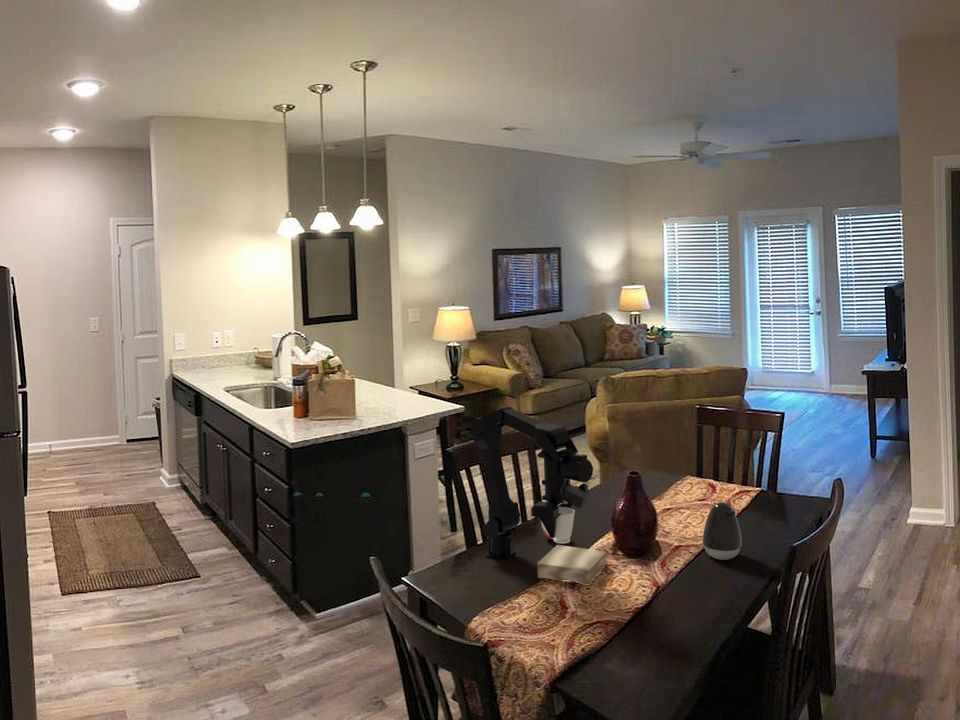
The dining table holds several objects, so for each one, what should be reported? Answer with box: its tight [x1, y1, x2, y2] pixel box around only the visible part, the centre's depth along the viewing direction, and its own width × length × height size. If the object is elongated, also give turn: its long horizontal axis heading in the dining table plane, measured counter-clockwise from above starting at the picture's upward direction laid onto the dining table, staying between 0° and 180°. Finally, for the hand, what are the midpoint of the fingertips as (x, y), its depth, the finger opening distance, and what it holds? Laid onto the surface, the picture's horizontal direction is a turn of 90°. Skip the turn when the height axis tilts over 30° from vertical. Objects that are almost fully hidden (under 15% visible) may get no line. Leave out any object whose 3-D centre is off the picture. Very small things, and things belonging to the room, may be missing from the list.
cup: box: [540, 507, 576, 545], centre depth 207 cm, size 7×10×8 cm
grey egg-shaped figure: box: [702, 501, 743, 561], centre depth 216 cm, size 10×10×15 cm
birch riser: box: [536, 544, 607, 585], centre depth 210 cm, size 14×14×4 cm
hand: (557, 533), depth 207 cm, fingers closed on cup, 6 cm apart
